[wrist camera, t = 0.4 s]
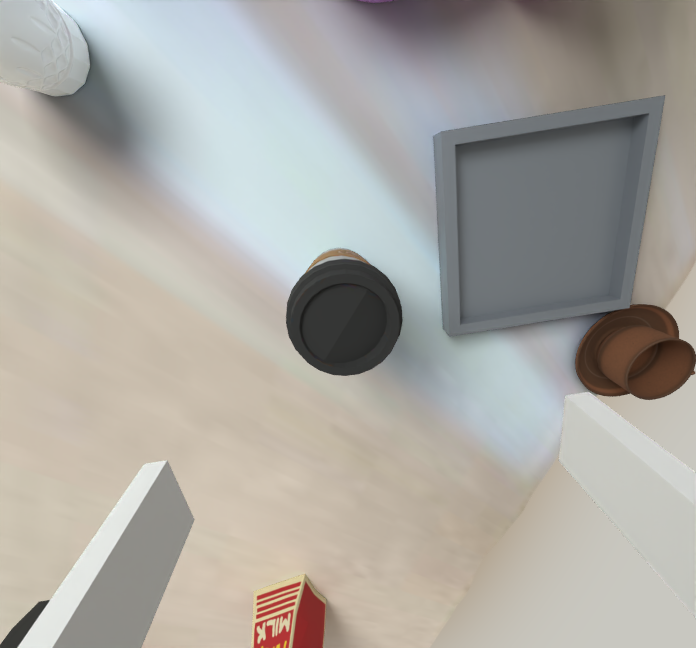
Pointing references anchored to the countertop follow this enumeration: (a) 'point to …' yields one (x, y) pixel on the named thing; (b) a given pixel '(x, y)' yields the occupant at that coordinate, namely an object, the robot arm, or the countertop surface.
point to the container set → (375, 1)
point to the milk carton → (288, 615)
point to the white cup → (41, 48)
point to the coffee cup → (343, 314)
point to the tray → (543, 214)
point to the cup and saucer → (635, 354)
